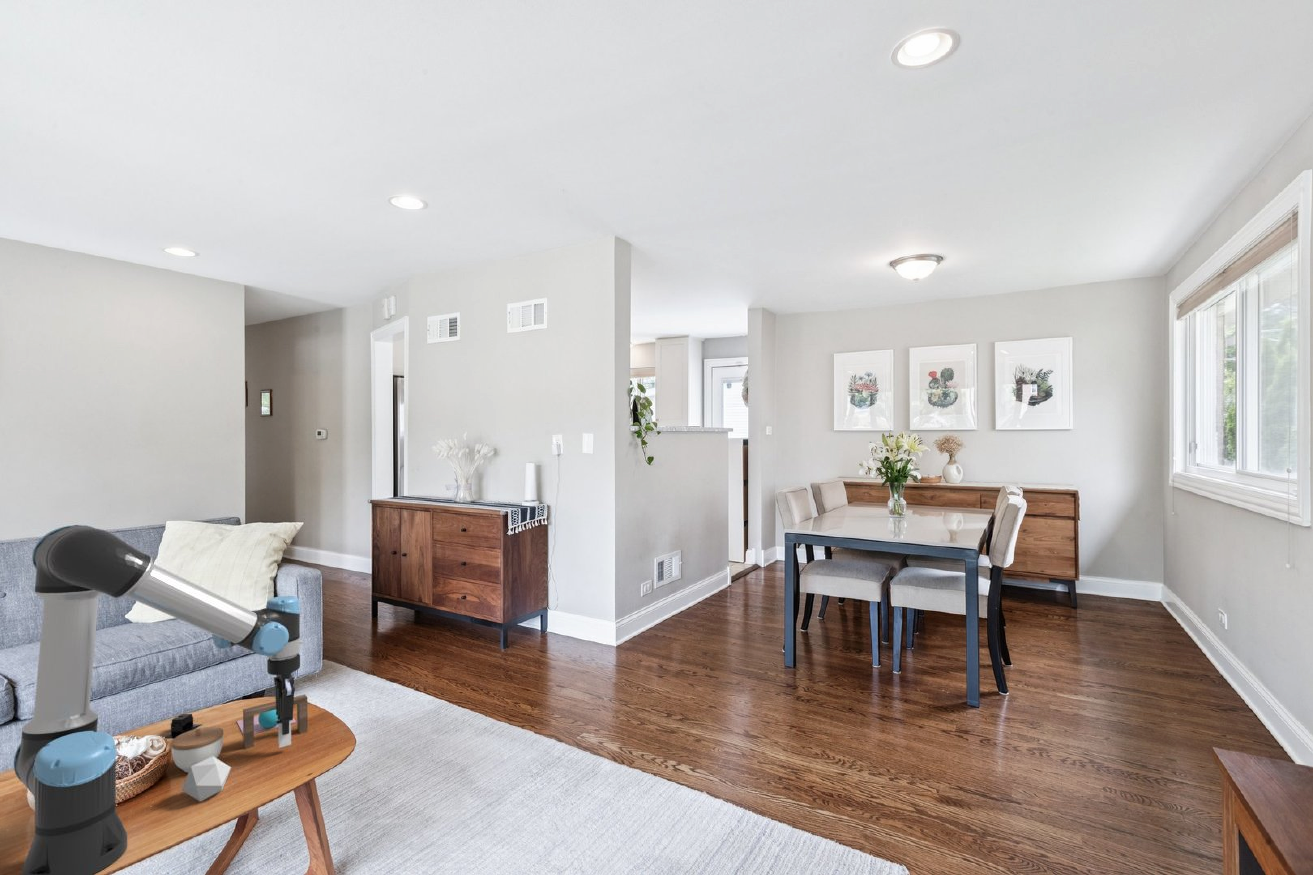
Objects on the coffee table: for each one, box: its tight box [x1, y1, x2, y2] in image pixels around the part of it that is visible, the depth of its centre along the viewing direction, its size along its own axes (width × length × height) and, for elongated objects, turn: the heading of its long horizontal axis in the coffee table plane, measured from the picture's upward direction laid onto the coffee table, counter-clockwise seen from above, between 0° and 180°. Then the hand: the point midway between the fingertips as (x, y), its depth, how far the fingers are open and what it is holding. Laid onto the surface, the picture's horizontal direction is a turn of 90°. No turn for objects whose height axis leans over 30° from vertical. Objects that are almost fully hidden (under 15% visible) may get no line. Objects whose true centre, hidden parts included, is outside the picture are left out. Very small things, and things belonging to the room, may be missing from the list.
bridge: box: [242, 693, 309, 750], centre depth 175 cm, size 3×15×10 cm, turn 131°
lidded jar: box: [170, 726, 224, 773], centre depth 160 cm, size 11×11×9 cm
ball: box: [258, 710, 278, 728], centre depth 182 cm, size 6×6×6 cm
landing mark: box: [236, 714, 297, 735], centre depth 185 cm, size 13×13×1 cm
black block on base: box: [163, 713, 203, 740], centre depth 180 cm, size 13×8×5 cm, turn 179°
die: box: [181, 756, 232, 803], centre depth 146 cm, size 8×9×10 cm
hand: (284, 744), depth 167 cm, fingers closed
